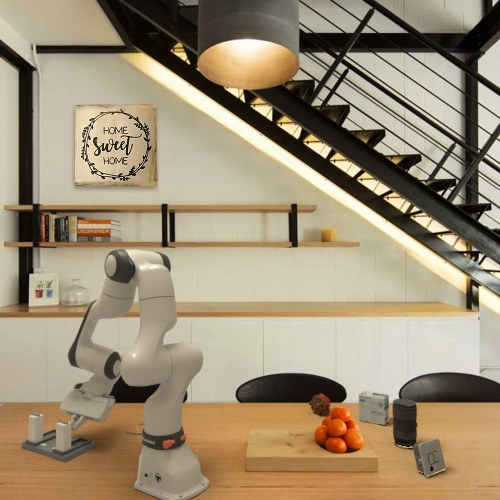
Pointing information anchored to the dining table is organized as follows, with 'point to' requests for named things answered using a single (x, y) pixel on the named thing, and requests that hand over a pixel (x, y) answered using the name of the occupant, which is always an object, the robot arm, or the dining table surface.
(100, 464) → the dining table surface
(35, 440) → the tab far
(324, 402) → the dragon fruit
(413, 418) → the camera lens
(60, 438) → the tab near
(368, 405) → the light bulb box
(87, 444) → the grey rectangular board
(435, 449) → the electrical switch
